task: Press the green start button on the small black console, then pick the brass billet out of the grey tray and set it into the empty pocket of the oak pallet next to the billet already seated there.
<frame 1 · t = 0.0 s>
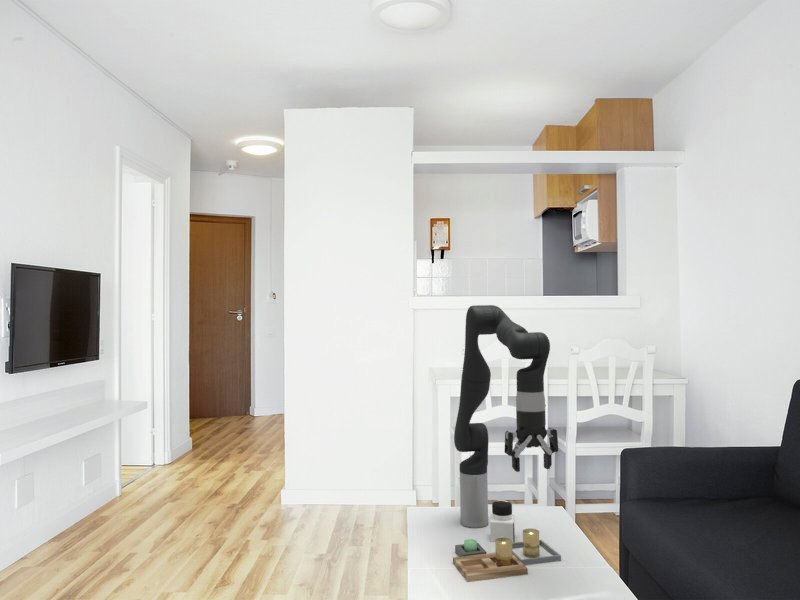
hand: (531, 469, 160), 29 cm above the table, tool pointing down, fingers open, 8 cm apart
start button: (470, 547, 175), point 3 cm above the table, slide at 0.0 cm
pallet: (489, 572, 166), on the table
tray: (531, 557, 175), on the table
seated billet: (504, 566, 167), point 1 cm above the table, touching pallet
medicine bottle: (502, 541, 188), on the table
billet: (531, 555, 175), point 1 cm above the table, touching tray
console: (470, 558, 175), on the table
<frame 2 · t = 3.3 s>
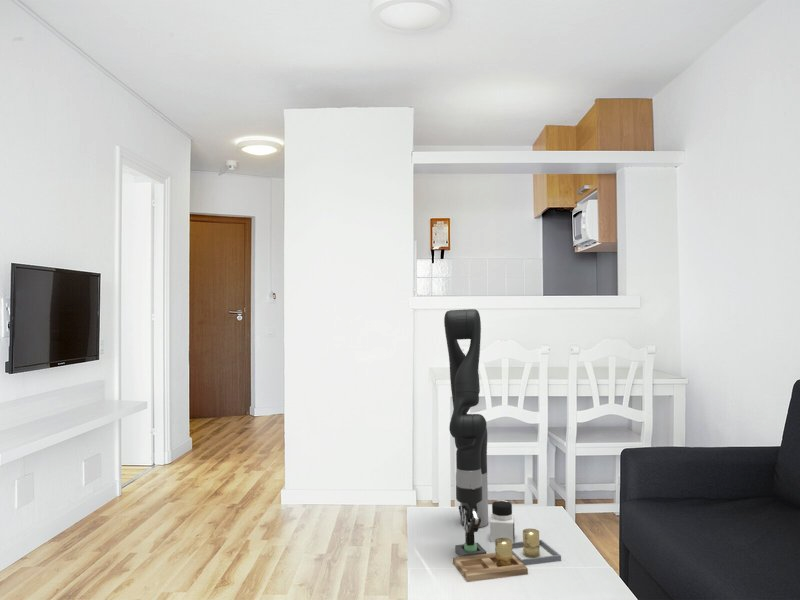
hand: (470, 544, 175), 4 cm above the table, tool pointing down, fingers closed
start button: (470, 549, 175), point 3 cm above the table, slide at 0.8 cm, touching gripper
everything else where it was.
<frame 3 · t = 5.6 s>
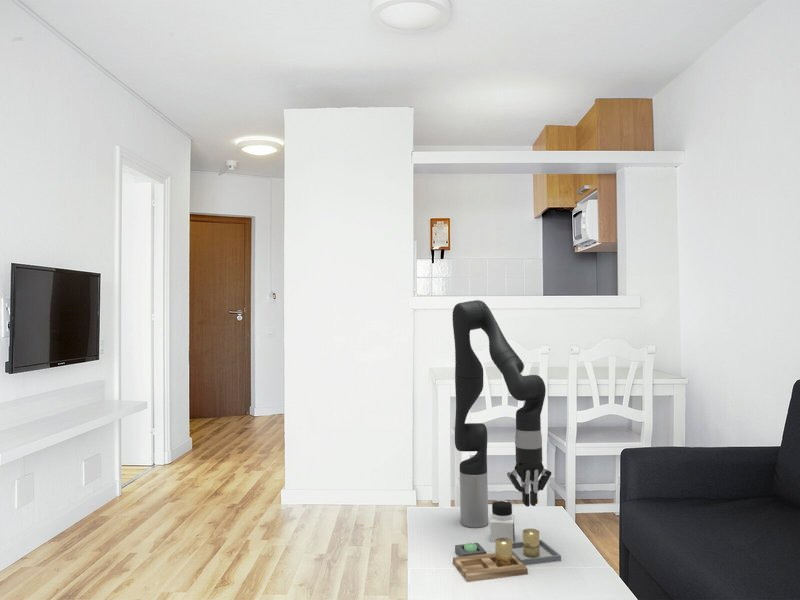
hand: (530, 505, 175), 15 cm above the table, tool pointing down, fingers closed
start button: (470, 551, 175), point 2 cm above the table, slide at 1.1 cm
everything else where it was.
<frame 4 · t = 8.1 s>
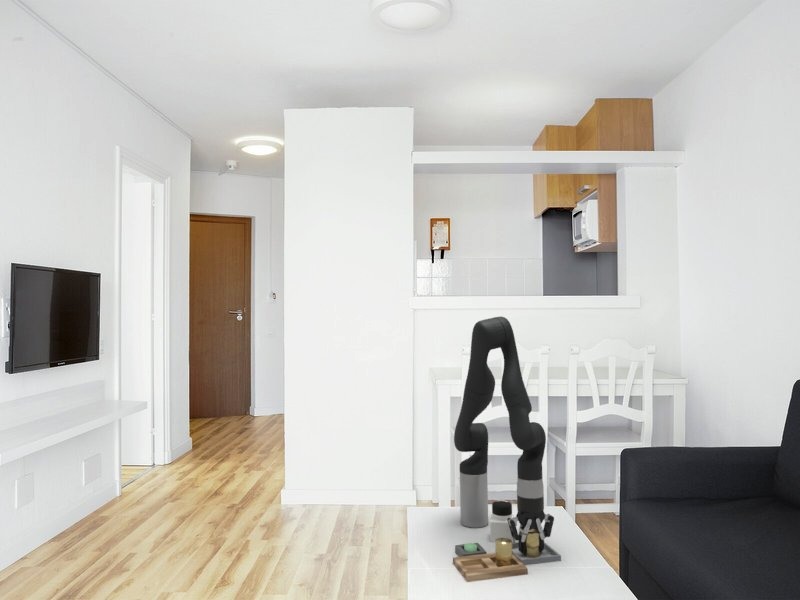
hand: (531, 552, 175), 2 cm above the table, tool pointing down, fingers closed on billet, 4 cm apart
billet: (531, 555, 175), point 1 cm above the table, touching gripper, tray
everything else where it was.
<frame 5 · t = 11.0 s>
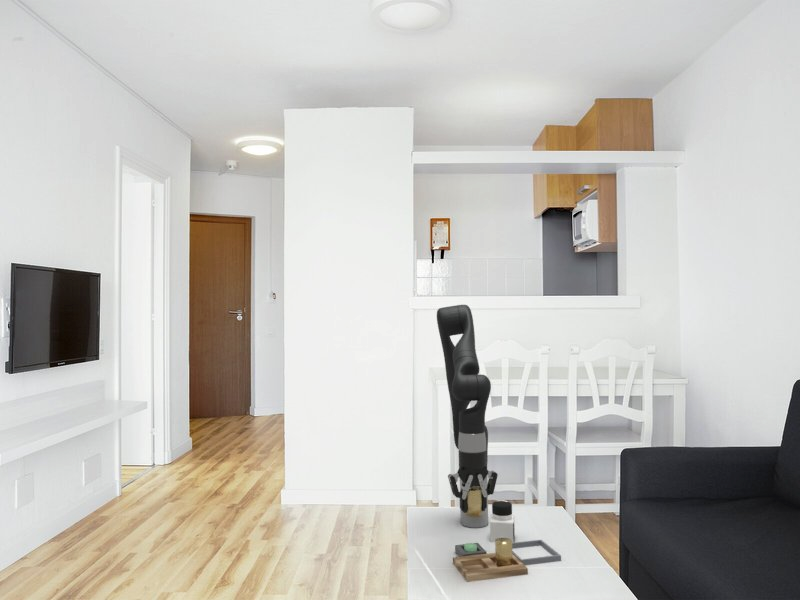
hand: (473, 510, 165), 17 cm above the table, tool pointing down, fingers closed on billet, 4 cm apart
billet: (473, 514, 165), point 16 cm above the table, touching gripper
everything else where it was.
when the fingers open (3 cm above the table, at t = 13.9 s): billet drops 1 cm, resting on pallet.
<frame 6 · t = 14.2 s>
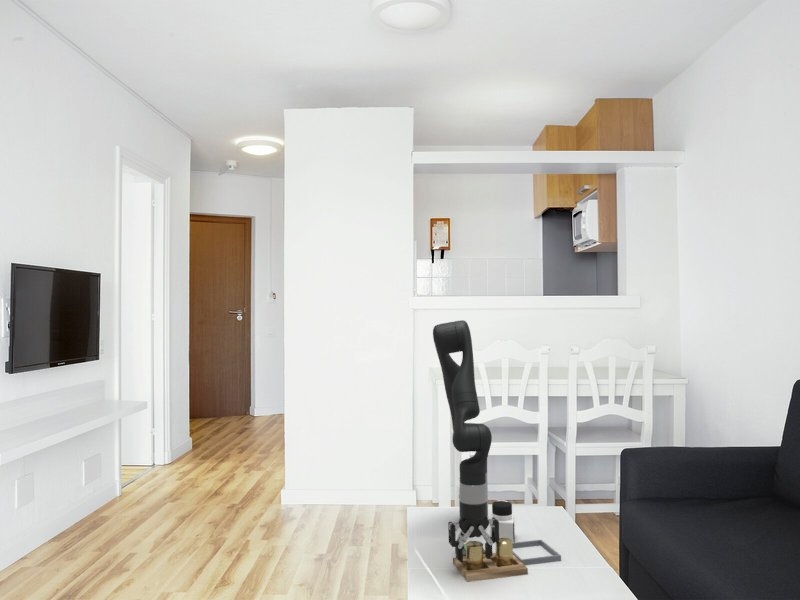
hand: (474, 559, 165), 4 cm above the table, tool pointing down, fingers open, 7 cm apart
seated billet: (504, 566, 167), point 1 cm above the table, touching gripper, pallet
billet: (474, 570, 165), point 1 cm above the table, touching pallet
everything else where it was.
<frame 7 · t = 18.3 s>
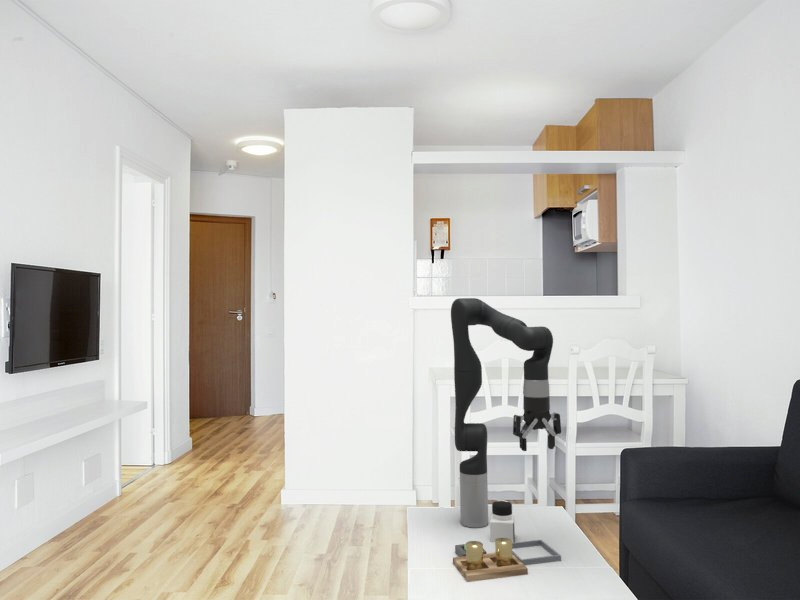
hand: (537, 449, 179), 30 cm above the table, tool pointing down, fingers open, 8 cm apart
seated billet: (504, 566, 167), point 1 cm above the table, touching pallet
everything else where it was.
at the end: start button slide at 1.1 cm; billet 0.1 cm from the target spot on the pallet, point 1.0 cm above the pallet's base; billet tilted 1° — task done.
